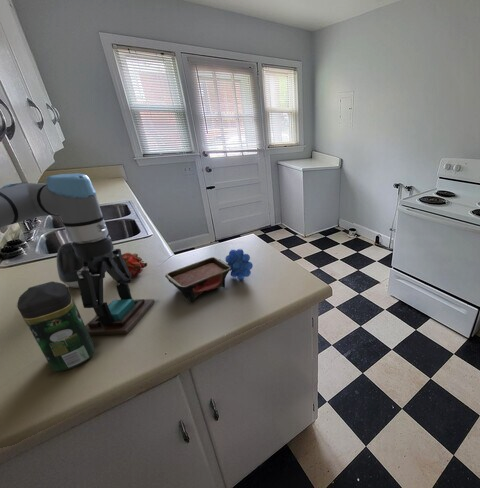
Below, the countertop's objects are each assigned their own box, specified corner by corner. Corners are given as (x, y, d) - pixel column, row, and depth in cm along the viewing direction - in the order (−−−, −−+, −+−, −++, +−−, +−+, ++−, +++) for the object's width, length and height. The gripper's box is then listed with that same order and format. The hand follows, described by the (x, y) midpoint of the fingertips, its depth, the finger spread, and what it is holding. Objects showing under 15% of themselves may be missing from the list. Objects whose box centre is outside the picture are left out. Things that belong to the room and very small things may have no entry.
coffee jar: (50, 354, 64) (14, 287, 57) (92, 337, 69) (64, 274, 62) (51, 379, 58) (10, 307, 50) (97, 359, 63) (67, 291, 55)
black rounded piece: (77, 294, 87) (58, 251, 81) (57, 288, 90) (38, 246, 84) (109, 279, 96) (95, 239, 90) (90, 274, 99) (75, 235, 93)
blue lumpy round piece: (261, 277, 97) (258, 246, 92) (249, 286, 91) (245, 254, 87) (236, 270, 102) (232, 241, 97) (223, 278, 96) (218, 248, 91)
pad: (120, 322, 73) (117, 314, 72) (101, 322, 72) (98, 315, 71) (135, 306, 79) (133, 298, 78) (117, 307, 79) (115, 299, 78)
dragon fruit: (127, 271, 104) (144, 284, 99) (103, 268, 96) (120, 281, 91) (137, 251, 105) (155, 263, 100) (114, 246, 97) (132, 258, 92)
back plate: (127, 333, 70) (124, 326, 69) (78, 336, 70) (75, 328, 69) (154, 302, 83) (152, 295, 82) (114, 303, 82) (111, 297, 81)
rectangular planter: (235, 293, 91) (234, 264, 89) (178, 309, 79) (176, 276, 76) (216, 280, 101) (215, 255, 99) (163, 293, 88) (160, 264, 86)
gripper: (73, 256, 57) (107, 339, 66) (131, 224, 77) (152, 292, 86) (35, 257, 57) (75, 340, 66) (103, 224, 76) (127, 293, 85)
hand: (118, 313), depth 76 cm, fingers open, 8 cm apart
